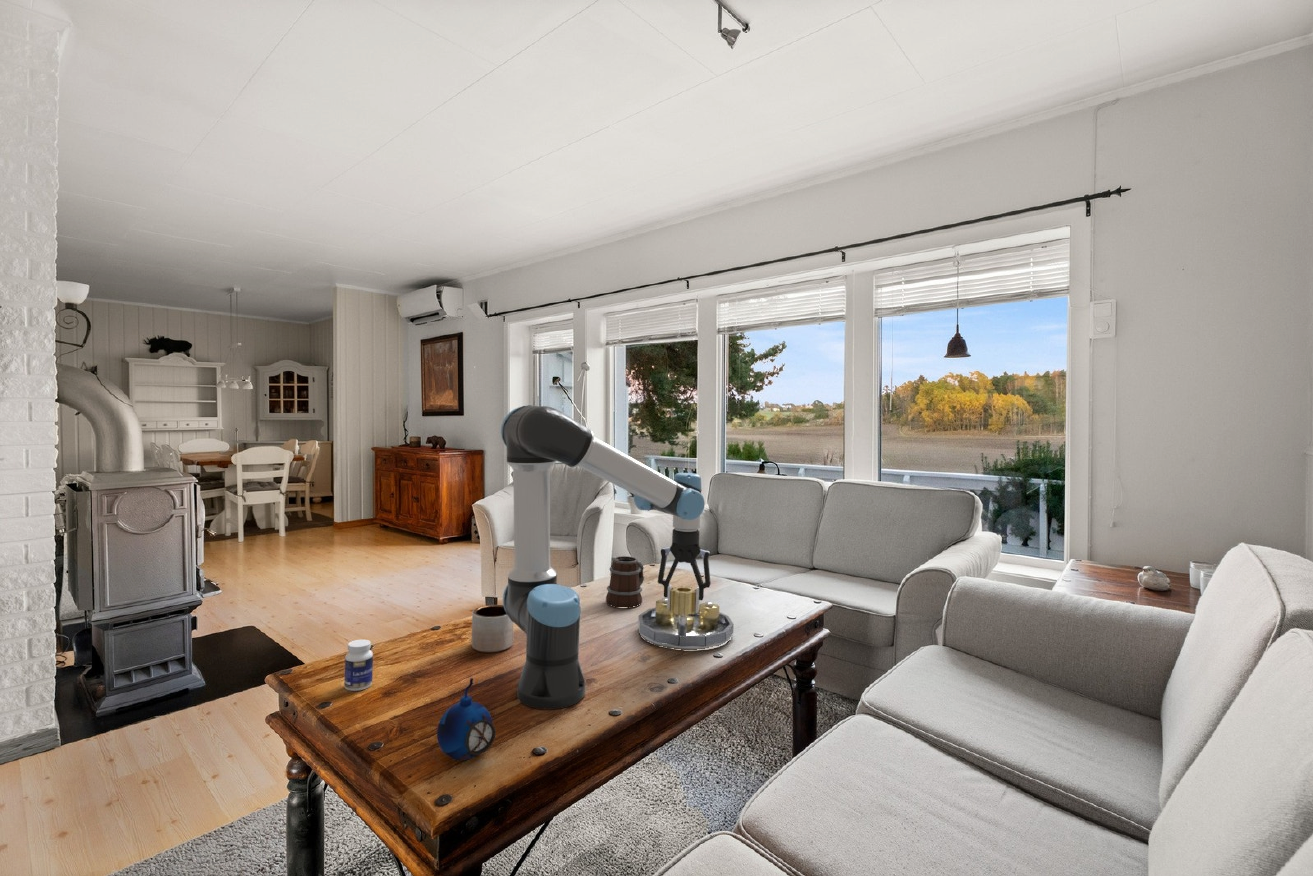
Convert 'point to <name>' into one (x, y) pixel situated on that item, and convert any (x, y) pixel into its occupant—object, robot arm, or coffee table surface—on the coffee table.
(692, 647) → the carrier
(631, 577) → the mug
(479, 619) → the planter
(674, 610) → the planet gear
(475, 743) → the bomb
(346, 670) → the pill bottle
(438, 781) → the coffee table surface
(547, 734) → the coffee table surface
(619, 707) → the coffee table surface
